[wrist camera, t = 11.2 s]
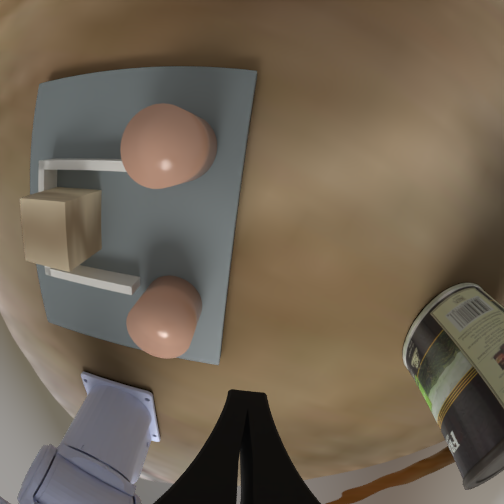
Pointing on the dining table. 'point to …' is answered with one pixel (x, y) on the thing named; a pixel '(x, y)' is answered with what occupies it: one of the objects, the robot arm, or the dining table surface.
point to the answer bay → (81, 273)
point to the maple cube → (61, 226)
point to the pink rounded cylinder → (165, 317)
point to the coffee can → (463, 376)
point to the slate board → (147, 194)
